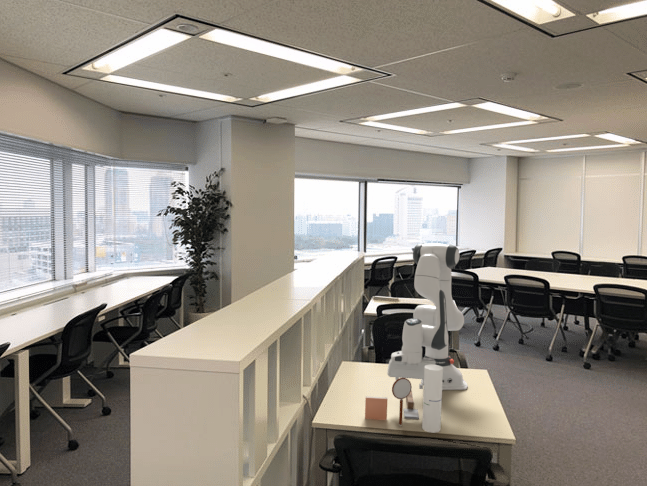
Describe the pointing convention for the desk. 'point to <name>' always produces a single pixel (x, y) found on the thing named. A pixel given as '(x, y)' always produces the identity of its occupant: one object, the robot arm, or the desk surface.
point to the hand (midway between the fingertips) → (410, 387)
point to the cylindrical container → (432, 398)
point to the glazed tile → (376, 408)
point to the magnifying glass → (401, 392)
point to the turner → (410, 408)
